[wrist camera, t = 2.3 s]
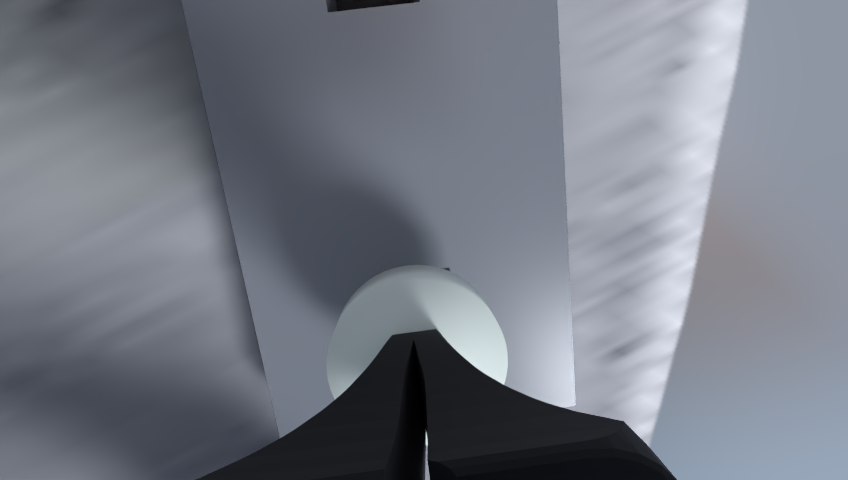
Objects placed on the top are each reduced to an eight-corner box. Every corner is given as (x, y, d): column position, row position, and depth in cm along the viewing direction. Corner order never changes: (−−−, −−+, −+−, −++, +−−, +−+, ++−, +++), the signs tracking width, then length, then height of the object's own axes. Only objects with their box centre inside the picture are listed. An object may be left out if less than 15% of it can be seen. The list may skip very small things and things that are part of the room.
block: (548, 367, 19) (575, 405, 16) (301, 401, 19) (281, 446, 16) (516, -174, 14) (545, -260, 11) (188, -139, 14) (131, -218, 11)
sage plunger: (484, 358, 15) (514, 433, 11) (359, 376, 15) (342, 457, 11) (472, 236, 14) (500, 268, 10) (338, 254, 14) (311, 292, 10)
